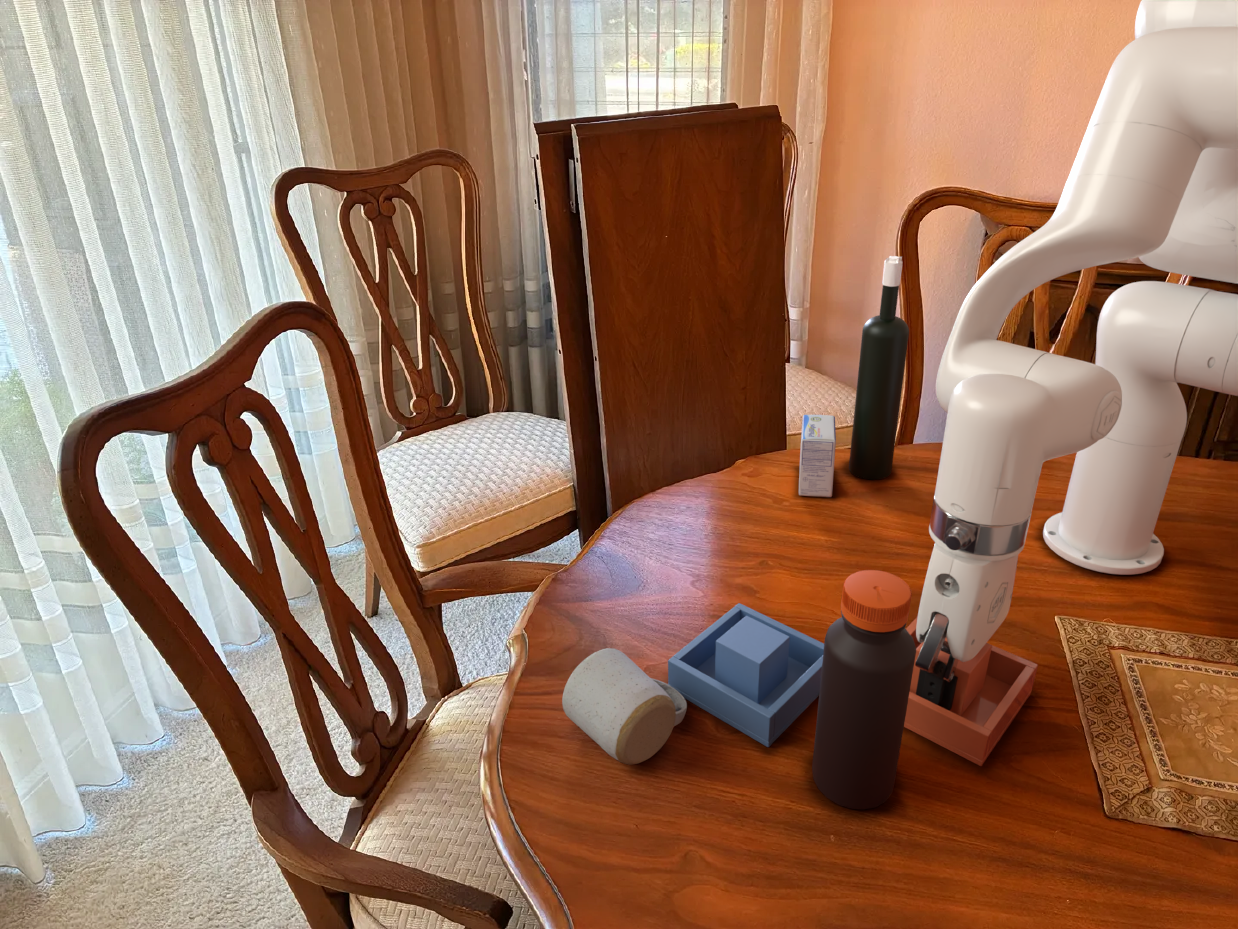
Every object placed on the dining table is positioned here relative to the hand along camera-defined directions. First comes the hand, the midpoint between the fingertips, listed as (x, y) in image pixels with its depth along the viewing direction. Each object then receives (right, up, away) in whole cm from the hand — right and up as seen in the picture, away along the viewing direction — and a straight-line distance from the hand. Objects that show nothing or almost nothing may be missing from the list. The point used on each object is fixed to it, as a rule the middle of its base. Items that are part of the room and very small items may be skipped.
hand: (947, 685), depth 80 cm
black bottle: (-11, -6, -7) cm, 14 cm away
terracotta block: (0, 0, 0) cm, 0 cm away
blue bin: (-18, -1, +4) cm, 18 cm away
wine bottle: (+5, +20, +40) cm, 45 cm away
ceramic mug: (-29, -4, -1) cm, 30 cm away
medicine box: (-4, +18, +38) cm, 42 cm away
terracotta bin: (0, -1, +1) cm, 2 cm away
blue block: (-18, 0, +3) cm, 18 cm away
